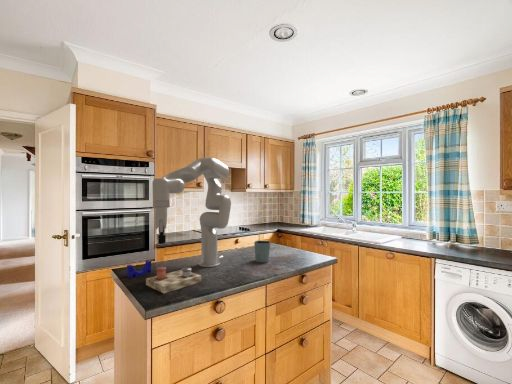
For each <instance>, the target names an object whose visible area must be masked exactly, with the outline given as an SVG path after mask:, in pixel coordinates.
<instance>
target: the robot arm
mask: <svg viewBox="0 0 512 384" xmlns="http://www.w3.org/2000/svg"><path fill="white" fill-rule="evenodd" d="M202 175H203V177H204V179H205V181H206V183H207V192H206V197H205V203H204V204H205V205H204V206H205V209H207V210H208V211H204V212H202V213H201V214H200V216H199V226H200V230H201V231H200V232H201V233H200V234H201V238H200V239H201V244H200V245H201V246H200V247H201V253H200V254H201V260H200V261H199V262H198V266H199V267H202V268H215V267H218V266H220V264H221V261H220V260H223V259H224V256H223V255H218V236H219V235H218V232H217V230H218V229H221V230H222V229H226V228H227V227H228V223H229V221H230V215H231V208H232V207H231V206H232V200H231V198H230V196H229V195H227V194H222V190H223V188H222V184H221V183H220V180H225V179H228V177H229V175H230V168H229V167H228V166H227V164H225V163H223V162H222V161H221V160H219V159H217V158H215V157H200V158H197V159H195V160H193V161H192V162H191V163H189V164H187V165H186V166H184V167H181V168H179V169H177V170H176V169H175V170H174V171H171V172H170V173H167V174H165V175H164V176H162V177H159V178H153V179H152V184H151V185H152V209H154V229H155V230H157V229H158V236H157V243H158V244H166V229H167V225H168V208H171V207H170V205H171V204H170V203H171V201H170V198H171V197H170V194H180V193H183V191H184V190H185V187H186V184H187V183H191V182H194V181H195V180H197V179H198V178H199V177H201V176H202ZM209 210H210V211H209ZM216 229H217V230H216Z"/></svg>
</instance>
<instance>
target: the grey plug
mask: <svg viewBox="0 0 512 384" xmlns="http://www.w3.org/2000/svg"><path fill="white" fill-rule="evenodd" d="M181 270H182V277H183V278H188V277H191V272H192V267H191V266H189V267H188V266H187V267H182V268H181Z"/></svg>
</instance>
